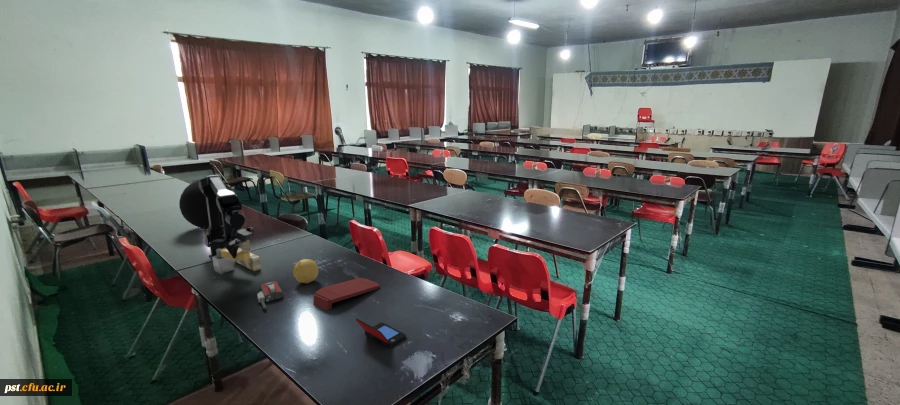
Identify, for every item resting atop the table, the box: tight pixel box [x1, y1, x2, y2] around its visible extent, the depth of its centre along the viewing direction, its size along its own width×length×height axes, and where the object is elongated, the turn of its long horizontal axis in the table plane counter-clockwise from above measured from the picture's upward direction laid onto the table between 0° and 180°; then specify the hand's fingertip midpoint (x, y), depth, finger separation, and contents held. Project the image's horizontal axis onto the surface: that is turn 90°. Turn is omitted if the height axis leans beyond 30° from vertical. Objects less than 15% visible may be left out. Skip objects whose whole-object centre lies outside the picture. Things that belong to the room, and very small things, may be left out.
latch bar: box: [216, 248, 250, 261], centre depth 173 cm, size 16×4×3 cm, turn 71°
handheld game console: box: [355, 318, 407, 348], centre depth 124 cm, size 12×11×7 cm
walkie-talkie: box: [256, 280, 284, 310], centre depth 151 cm, size 9×4×20 cm
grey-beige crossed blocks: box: [234, 240, 262, 272], centre depth 182 cm, size 18×6×10 cm, turn 53°
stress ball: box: [292, 258, 319, 284], centre depth 163 cm, size 10×10×10 cm
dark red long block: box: [313, 277, 380, 312], centre depth 154 cm, size 12×5×25 cm
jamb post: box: [211, 256, 236, 275], centre depth 176 cm, size 6×6×7 cm
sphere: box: [178, 179, 237, 230], centre depth 234 cm, size 30×30×30 cm
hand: (234, 258), depth 169 cm, fingers closed
